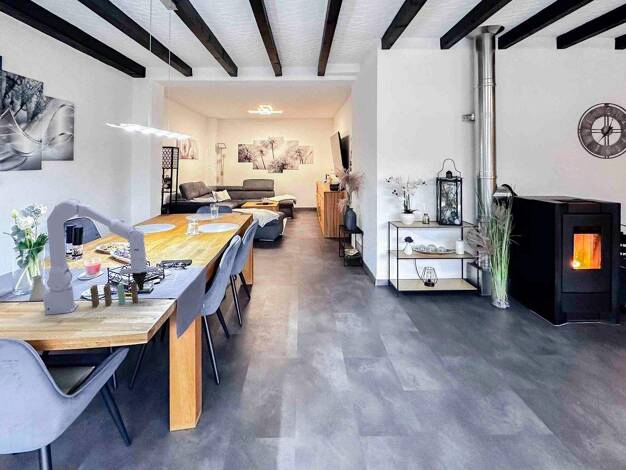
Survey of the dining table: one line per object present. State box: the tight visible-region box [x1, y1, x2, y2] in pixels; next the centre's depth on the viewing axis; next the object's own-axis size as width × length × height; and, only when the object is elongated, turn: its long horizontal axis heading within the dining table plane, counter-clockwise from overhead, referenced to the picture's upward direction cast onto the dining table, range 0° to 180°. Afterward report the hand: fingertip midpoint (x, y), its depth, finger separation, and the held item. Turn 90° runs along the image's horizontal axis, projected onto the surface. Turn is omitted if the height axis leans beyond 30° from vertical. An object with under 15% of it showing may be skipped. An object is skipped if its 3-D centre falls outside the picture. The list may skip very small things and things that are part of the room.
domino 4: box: [130, 281, 139, 304], centre depth 154 cm, size 2×4×8 cm, turn 16°
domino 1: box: [90, 284, 100, 308], centre depth 150 cm, size 2×4×8 cm, turn 17°
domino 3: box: [116, 282, 126, 306], centre depth 153 cm, size 2×4×8 cm, turn 16°
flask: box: [29, 274, 48, 302], centre depth 157 cm, size 7×7×10 cm
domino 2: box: [103, 283, 113, 307], centre depth 151 cm, size 2×4×8 cm, turn 17°
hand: (141, 289), depth 155 cm, fingers closed
